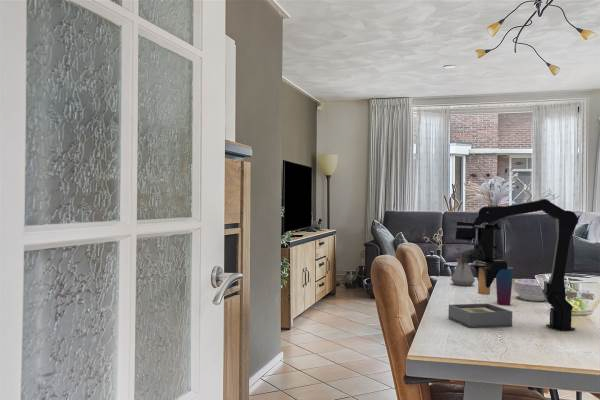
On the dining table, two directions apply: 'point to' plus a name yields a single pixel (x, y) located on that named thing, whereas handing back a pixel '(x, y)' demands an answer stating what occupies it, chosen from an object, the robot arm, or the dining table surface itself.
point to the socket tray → (480, 315)
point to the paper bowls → (529, 289)
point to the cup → (504, 286)
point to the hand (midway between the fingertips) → (484, 286)
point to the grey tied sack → (462, 274)
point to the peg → (482, 283)
